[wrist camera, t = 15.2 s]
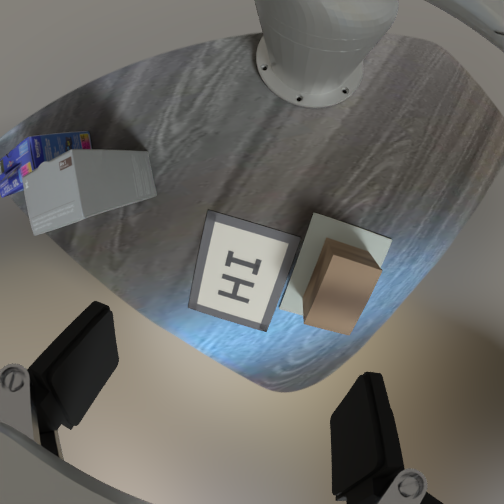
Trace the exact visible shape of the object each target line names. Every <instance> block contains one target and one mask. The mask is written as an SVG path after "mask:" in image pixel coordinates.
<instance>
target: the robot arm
mask: <svg viewBox="0 0 504 504" xmlns="http://www.w3.org/2000/svg"><path fill="white" fill-rule="evenodd" d="M425 1H427V2H429V3H431V4H432V5H434V6H436V7H438V8H440V9H441V10H443V11H445V12H447V13H448V14H450V15H452V16H453V17H455V18H457V19H458V20H460V21H461V22H463V23H464V24H466V25H467V26H469V27H470V28H472V29H473V30H475V31H477V32H478V33H479V34H480V35H482V36H483V37H484V38H486V39H487V40H489V41H490V42H491V43H492V44H494V45H495V46H496V47H497V48H499V49H500V50H501V51H502V52H504V0H425ZM398 3H399V0H255V5H256V8H257V12H258V16H259V20H260V24H261V27H262V31H263V36H262V38H261V40H260V42H259V44H258V47H257V52H256V63H257V67H258V71H259V74H260V76H261V78H262V80H263V81H264V83H265V84H266V86H267V87H268V88H269V89H270V90H271V91H272V92H273V93H274V94H275V95H277V96H278V97H279V98H281V99H283V100H285V101H286V102H288V103H291V104H294V105H297V106H300V107H305V108H325V107H330V106H333V105H336V104H339V103H340V102H342V101H344V100H345V99H347V98H348V97H349V96H351V95H352V94H353V92H354V91H355V90H356V89H357V88H358V86H359V84H360V82H361V80H362V76H363V72H364V62H363V59H364V58H365V57H366V56H367V55H368V53H369V52H370V51H371V50H372V49H373V48H374V46H375V45H376V44H377V43H378V42H379V40H380V39H381V38H382V37H383V36H384V35H385V33H386V32H387V31H388V30H389V29H390V27H391V26H392V24H393V22H394V20H395V18H396V15H397V11H398ZM263 68H267V70H266V71H264V70H263ZM343 90H345V91H346V94H344V93H343V92H342V91H343ZM297 98H301V101H297ZM118 362H119V357H118V351H117V344H116V337H115V329H114V321H113V313H112V311H110V308H109V306H107V305H105V304H102V303H100V302H97V301H94V302H92V303H91V305H89V306H88V307H87V308H86V309H85V310H84V311H83V312H82V313H81V314H80V315H79V316H78V317H77V318H76V319H75V320H74V321H73V322H72V323H71V324H70V325H69V326H68V327H67V328H66V329H65V330H64V331H63V332H62V333H61V334H60V335H59V336H58V337H57V338H56V339H55V340H54V341H53V342H52V343H51V344H50V345H49V346H48V348H47V349H46V350H45V351H44V352H43V353H42V354H41V355H40V356H39V357H38V358H37V359H36V361H35V362H34V363H33V364H32V365H31V366H30V367H29V369H26V368H24V367H23V366H22V365H19V364H9V365H7V366H4V367H3V368H2V369H1V370H0V504H152V503H149V502H146V501H144V500H141V499H139V498H136V497H134V496H132V495H129V494H127V493H124V492H122V491H120V490H118V489H115V488H114V487H111V486H109V485H107V484H105V483H103V482H101V481H99V480H97V479H95V478H93V477H91V476H90V475H88V474H86V473H84V472H83V471H81V470H79V469H77V468H75V467H74V466H72V465H70V464H69V463H67V462H65V461H64V458H63V454H62V449H61V445H60V440H59V435H58V428H59V427H60V425H61V424H62V425H64V426H65V427H67V428H69V429H70V430H71V429H72V428H73V426H77V425H78V424H79V423H80V421H81V420H82V418H83V417H84V415H85V414H86V412H87V411H88V409H89V407H90V406H91V404H92V403H93V401H94V400H95V398H96V397H97V395H98V394H99V392H100V391H101V389H102V388H103V386H104V385H105V383H106V382H107V380H108V379H109V377H110V376H111V374H112V373H113V372H114V370H115V369H116V367H117V365H118ZM330 428H331V453H332V454H331V455H332V493H333V495H336V501H347V504H443V503H442V502H440V501H439V500H437V499H436V498H434V497H433V496H432V495H430V494H428V493H427V492H426V490H427V481H426V478H425V476H424V475H423V474H422V473H421V472H420V471H418V470H416V469H410V468H409V469H404V464H403V458H402V453H401V448H400V443H399V438H398V433H397V429H396V424H395V420H394V416H393V412H392V410H391V408H390V404H389V400H388V396H387V392H386V388H385V385H384V381H383V377H382V375H381V374H380V373H374V372H365V373H364V374H363V375H360V376H359V377H358V379H357V380H356V382H355V383H354V385H353V386H352V388H351V389H350V391H349V392H348V393H347V395H346V396H345V398H344V399H343V400H342V402H341V403H340V404H339V406H338V407H337V408H336V410H335V411H334V413H333V414H332V416H331V420H330Z"/></svg>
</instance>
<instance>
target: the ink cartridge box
mask: <svg viewBox="0 0 504 504" xmlns="http://www.w3.org/2000/svg"><path fill="white" fill-rule="evenodd" d="M71 149H92V146H91V139H90V133H89V131H78V132H65V133H53V134H44V135H35V136H29V137H27V138H26V139H25V140H23V141H22V142H21V143H20V144H18V145H17V146H16V147H15V148H14V149H13V150H11V151H10V152H9V153H8V154H6V155H5V156H4V157H3V158H2V159H0V193H1V197H2V198H3V197H5V196H8V195H11V194H14V193H17V192H20V191H23V190H24V187H23V181H22V178H23V177H24V176H25V175H27V174H28V173H30V172H31V171H33V170H35V169H36V168H38V167H39V165H40V164H41V163H43V162H45V161H51V160H52V159H54V158H56V157H58V156H59V155H61V154H63V153H65V152H67V151H69V150H71Z"/></svg>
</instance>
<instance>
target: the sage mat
mask: <svg viewBox="0 0 504 504" xmlns="http://www.w3.org/2000/svg"><path fill="white" fill-rule="evenodd" d="M326 237H327V238H330V239H333V240H336V241H339V242H342V243H345V244H348V245H351V246H354V247H357V248H360V249H363V250H366V251H368V252H369V253H370V254H371V255H372V257H373V258H374V260H375V261H376V262H377V264H378V265H379V267H380V268H381V265H382V263H383V261H384V259H385V256H386V254H387V252H388V249H389V247H390V244H391V242H392V239H389V238H386V237H384V236H381V235H378V234H375V233H373V232H370V231H367V230H364V229H362V228H359V227H356V226H353V225H350V224H347V223H344V222H342V221H339V220H336V219H333V218H330V217H327V216H324V215H321V214H318V213H315V212H314V213H313V216H312V219H311V222H310V225H309V228H308V231H307V233H306V236H305V239H304V242H303V245H302V248H301V251H300V253H299V256H298V259H297V262H296V265H295V267H294V270H293V273H292V276H291V278H290V281H289V284H288V286H287V289H286V292H285V294H284V297H283V300H282V302H281V305H280V308H279V309H281V310H285V311H288V312H292V313H296V314H299V315H303V302H302V298H303V296H304V293H305V291H306V288H307V286H308V283H309V281H310V278H311V276H312V273H313V271H314V268H315V266H316V263H317V261H318V258H319V255H320V253H321V250H322V248H323V245H324V242H325V240H326Z"/></svg>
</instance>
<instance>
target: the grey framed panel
mask: <svg viewBox="0 0 504 504" xmlns="http://www.w3.org/2000/svg"><path fill="white" fill-rule="evenodd" d="M300 239H301V237H298V236H295V235H292V234H288V233H285V232H282V231H279V230H275V229H272V228H269V227H265V226H262V225H259V224H255V223H252V222H249V221H245V220H242V219H238V218H235V217H231V216H228V215H225V214H221V213H218V212H214V211H211V210H208V213H207V217H206V221H205V226H204V230H203V235H202V240H201V244H200V249H199V254H198V259H197V264H196V269H195V274H194V279H193V284H192V289H191V295H190V300H189V306H188V308H191V309H194V310H197V311H200V312H203V313H206V314H209V315H212V316H215V317H218V318H221V319H224V320H227V321H231V322H234V323H237V324H241V325H244V326H247V327H251V328H254V329H258V330H261V331H265V332H267V329H268V327H269V324H270V322H271V319H272V316H273V314H274V311H275V308H276V306H277V303H278V300H279V298H280V295H281V292H282V290H283V287H284V284H285V281H286V279H287V276H288V273H289V270H290V268H291V265H292V262H293V259H294V256H295V253H296V251H297V248H298V245H299V242H300Z"/></svg>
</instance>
